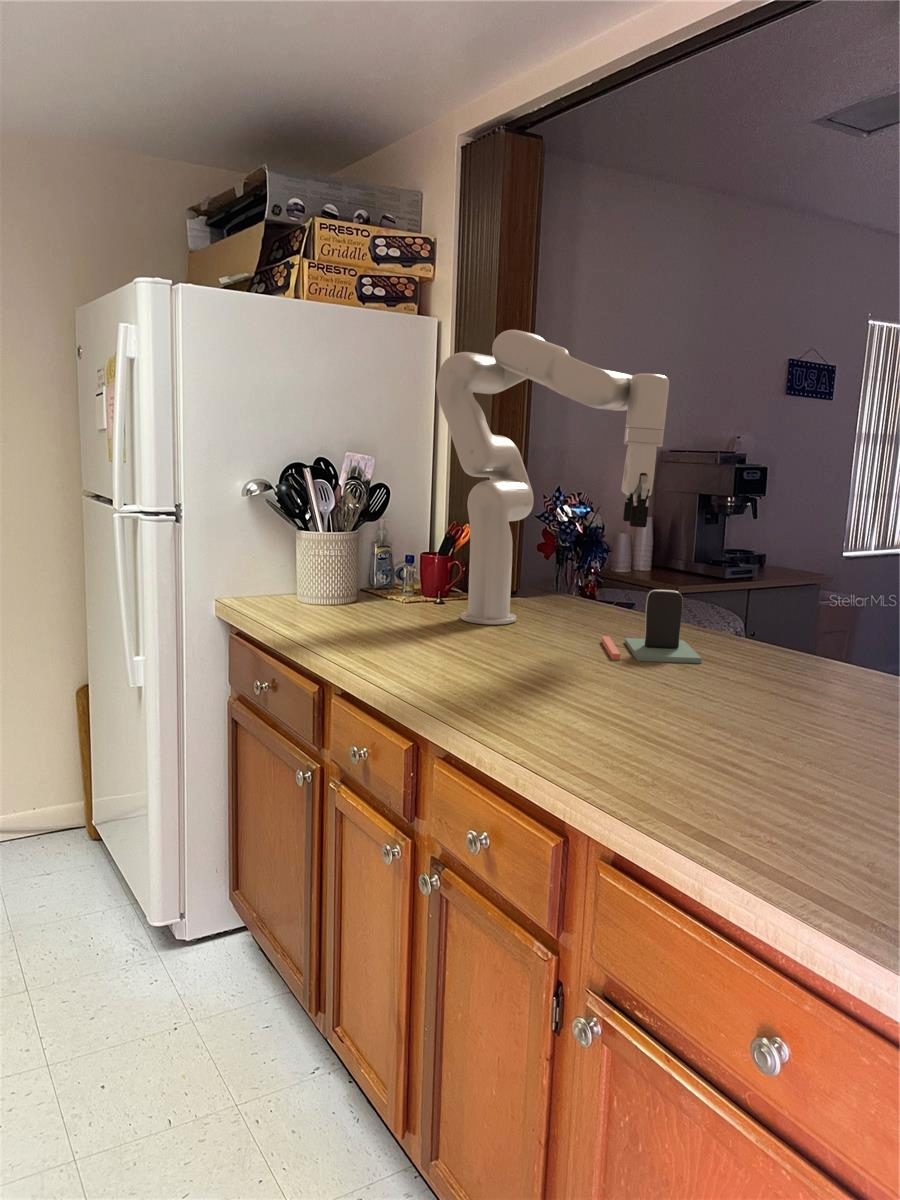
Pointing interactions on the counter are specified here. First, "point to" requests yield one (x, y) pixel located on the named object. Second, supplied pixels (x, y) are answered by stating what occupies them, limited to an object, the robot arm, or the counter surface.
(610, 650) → the bar
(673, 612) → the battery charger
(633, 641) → the mat
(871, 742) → the counter surface
